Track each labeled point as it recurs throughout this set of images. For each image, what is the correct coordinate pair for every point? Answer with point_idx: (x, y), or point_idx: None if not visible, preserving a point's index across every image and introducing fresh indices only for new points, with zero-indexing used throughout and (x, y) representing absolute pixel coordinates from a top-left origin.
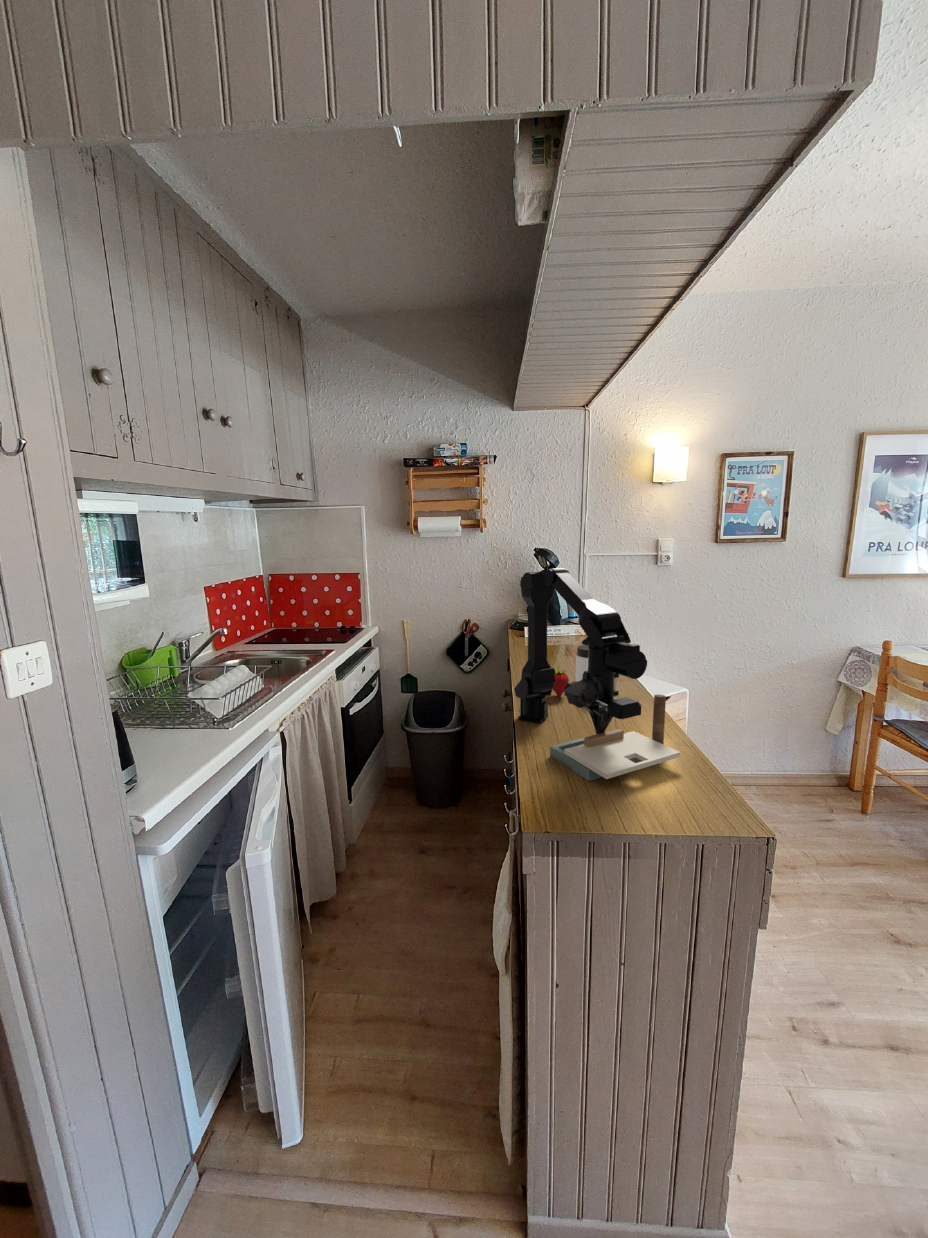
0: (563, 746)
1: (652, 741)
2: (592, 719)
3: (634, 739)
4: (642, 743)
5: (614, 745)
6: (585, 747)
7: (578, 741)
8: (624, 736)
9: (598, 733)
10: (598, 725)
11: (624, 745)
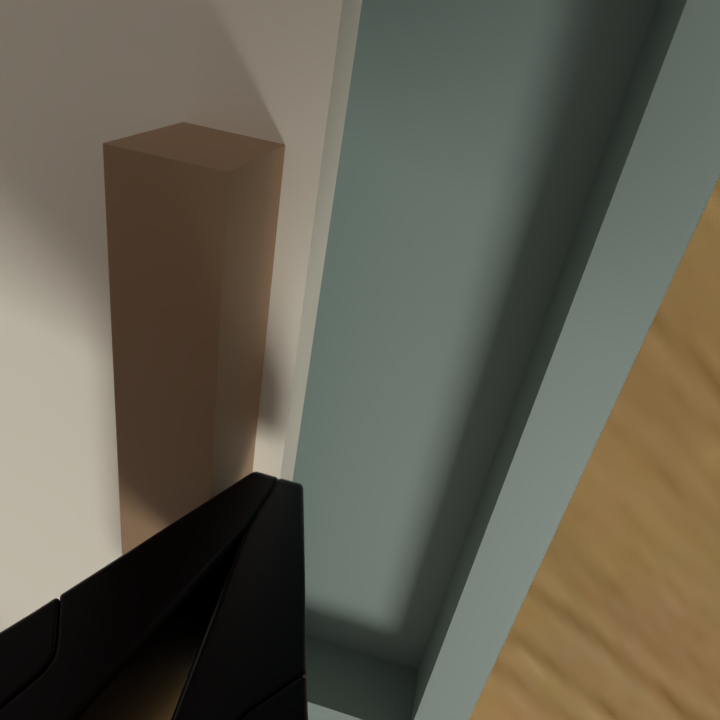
0: (679, 9)
1: None
2: (282, 697)
3: None
4: (11, 605)
5: (78, 424)
6: (207, 79)
7: (572, 331)
8: None
9: (245, 490)
10: (145, 581)
11: (37, 486)
